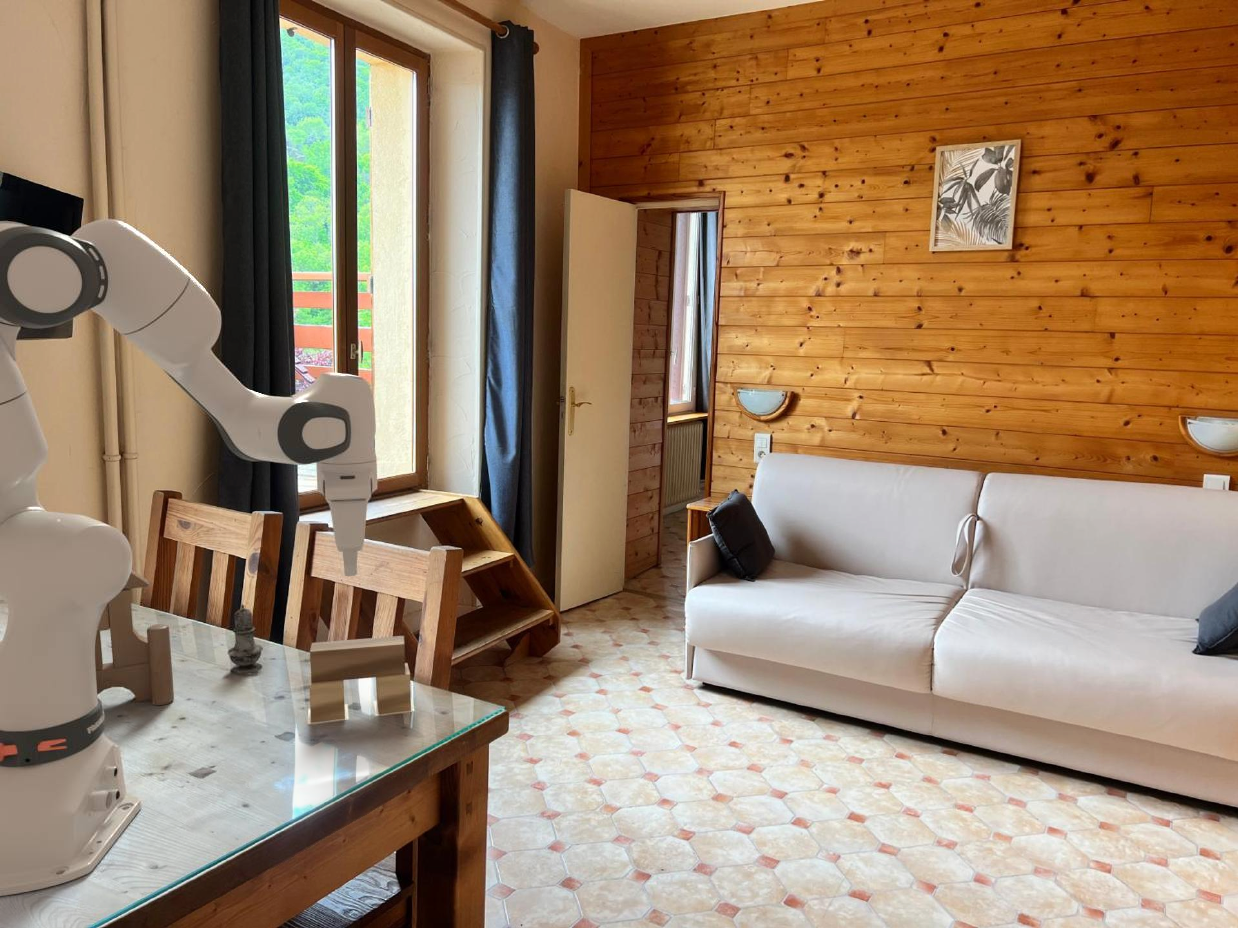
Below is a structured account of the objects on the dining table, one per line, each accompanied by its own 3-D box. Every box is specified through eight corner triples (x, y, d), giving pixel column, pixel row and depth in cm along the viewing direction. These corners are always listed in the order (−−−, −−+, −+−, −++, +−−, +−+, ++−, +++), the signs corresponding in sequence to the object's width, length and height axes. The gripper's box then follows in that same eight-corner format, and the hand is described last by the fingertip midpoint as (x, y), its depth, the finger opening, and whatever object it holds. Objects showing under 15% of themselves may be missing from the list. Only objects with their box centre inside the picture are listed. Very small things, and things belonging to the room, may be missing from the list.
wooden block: (405, 674, 139) (404, 643, 139) (311, 682, 136) (309, 651, 135) (404, 665, 143) (403, 635, 142) (313, 673, 140) (311, 642, 139)
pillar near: (345, 718, 137) (343, 681, 136) (311, 722, 136) (309, 685, 135) (344, 705, 142) (343, 669, 141) (311, 709, 140) (309, 673, 140)
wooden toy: (63, 723, 137) (48, 566, 133) (65, 707, 142) (51, 556, 139) (174, 703, 144) (164, 554, 141) (172, 689, 150) (161, 545, 146)
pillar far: (411, 710, 140) (409, 674, 139) (378, 714, 139) (377, 677, 138) (408, 698, 145) (407, 662, 144) (376, 701, 143) (375, 666, 143)
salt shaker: (269, 668, 159) (266, 604, 158) (237, 677, 155) (233, 611, 153) (255, 660, 163) (251, 597, 161) (222, 669, 159) (218, 604, 157)
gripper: (326, 470, 144) (329, 553, 146) (324, 490, 125) (328, 585, 127) (366, 469, 146) (369, 550, 148) (371, 488, 127) (373, 582, 129)
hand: (350, 567), depth 137 cm, fingers open, 8 cm apart
